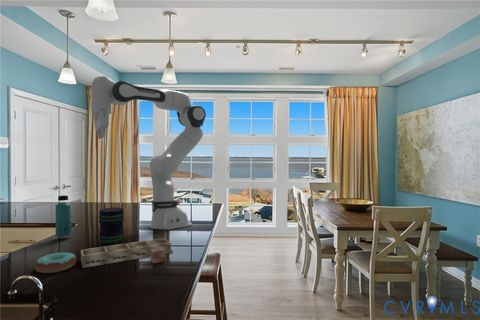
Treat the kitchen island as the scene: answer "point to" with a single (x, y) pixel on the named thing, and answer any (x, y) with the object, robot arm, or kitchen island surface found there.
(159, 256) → the count cube
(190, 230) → the kitchen island surface
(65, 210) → the beverage bottle
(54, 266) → the donut
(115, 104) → the robot arm
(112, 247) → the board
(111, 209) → the storage jar
